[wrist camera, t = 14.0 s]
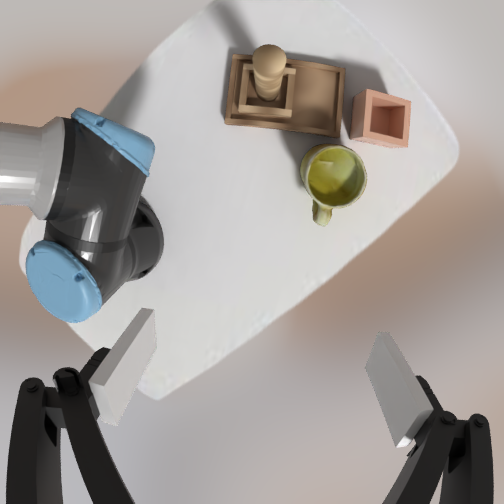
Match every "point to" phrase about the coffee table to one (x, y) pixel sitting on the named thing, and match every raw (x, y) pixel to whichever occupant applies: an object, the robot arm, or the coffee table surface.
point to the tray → (288, 98)
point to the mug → (332, 179)
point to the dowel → (268, 71)
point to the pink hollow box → (380, 119)
